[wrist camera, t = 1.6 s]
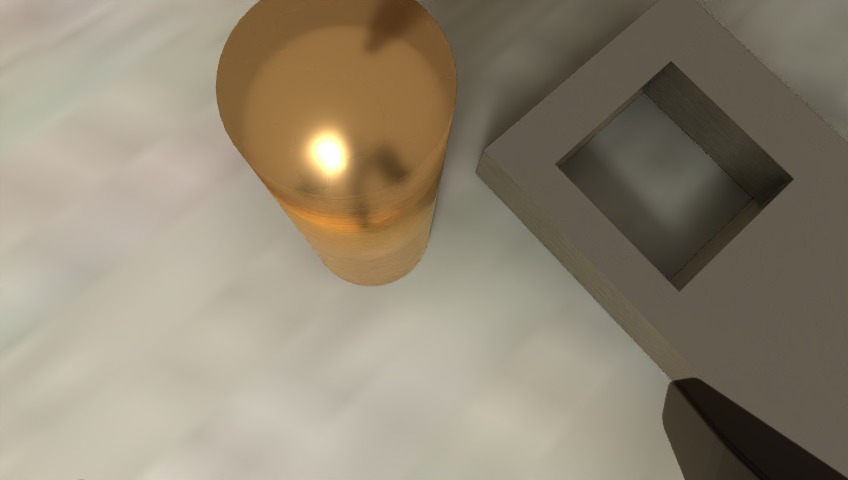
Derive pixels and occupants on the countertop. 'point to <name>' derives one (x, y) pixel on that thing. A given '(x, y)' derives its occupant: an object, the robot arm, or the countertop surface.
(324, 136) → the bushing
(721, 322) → the plate
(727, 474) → the robot arm
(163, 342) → the countertop surface
